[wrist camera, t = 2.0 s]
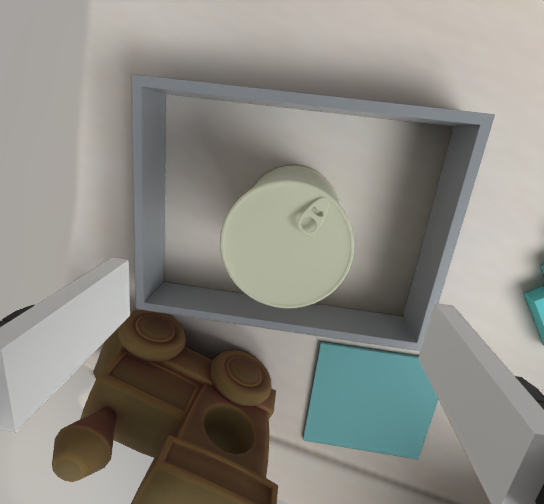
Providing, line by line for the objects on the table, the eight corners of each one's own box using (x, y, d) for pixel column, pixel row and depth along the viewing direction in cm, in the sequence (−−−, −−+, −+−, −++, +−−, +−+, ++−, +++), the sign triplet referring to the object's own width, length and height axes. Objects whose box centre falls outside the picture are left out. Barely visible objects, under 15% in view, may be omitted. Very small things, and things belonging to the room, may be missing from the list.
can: (359, 203, 33) (387, 238, 22) (301, 273, 36) (298, 336, 25) (283, 144, 32) (270, 149, 21) (229, 221, 35) (191, 261, 24)
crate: (408, 324, 37) (423, 351, 32) (156, 287, 38) (135, 308, 33) (465, 118, 30) (495, 114, 25) (157, 83, 32) (131, 74, 27)
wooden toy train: (292, 368, 40) (283, 518, 24) (250, 433, 44) (218, 600, 28) (134, 291, 39) (17, 396, 23) (105, 364, 42) (-14, 499, 27)
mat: (417, 456, 42) (418, 459, 42) (303, 437, 43) (303, 440, 43) (448, 360, 38) (450, 363, 37) (320, 341, 38) (320, 343, 38)
